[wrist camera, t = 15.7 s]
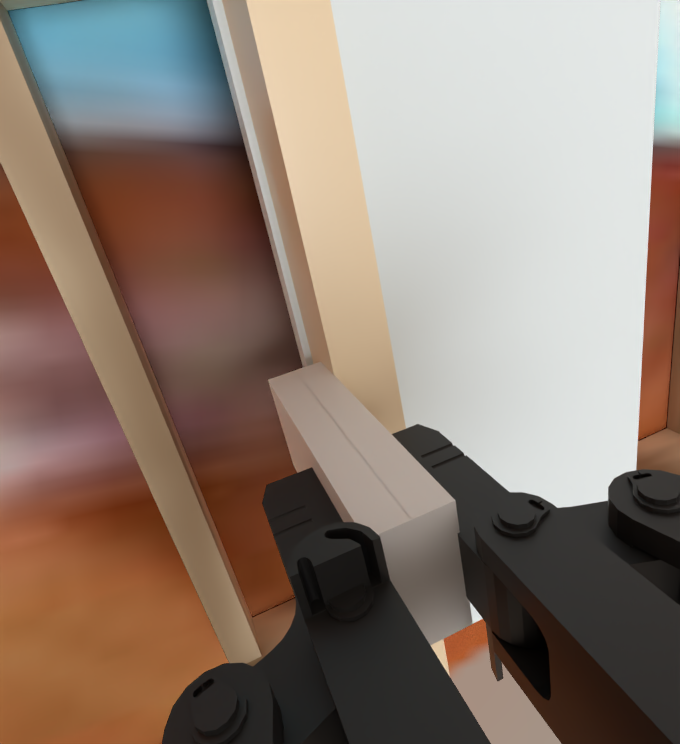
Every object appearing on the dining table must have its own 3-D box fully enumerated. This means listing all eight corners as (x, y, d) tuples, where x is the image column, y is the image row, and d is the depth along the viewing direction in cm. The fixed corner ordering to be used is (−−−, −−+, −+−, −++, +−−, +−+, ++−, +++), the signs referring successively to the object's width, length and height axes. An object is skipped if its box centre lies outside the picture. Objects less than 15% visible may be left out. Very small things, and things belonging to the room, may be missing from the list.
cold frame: (233, 648, 22) (245, 712, 19) (-74, -44, 12) (-137, -110, 9) (681, 438, 28) (737, 465, 25) (736, -134, 18) (839, -189, 15)
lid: (378, 655, 20) (409, 716, 18) (168, -146, 10) (175, -243, 8) (621, 532, 23) (674, 571, 21) (649, -182, 13) (757, -260, 11)
